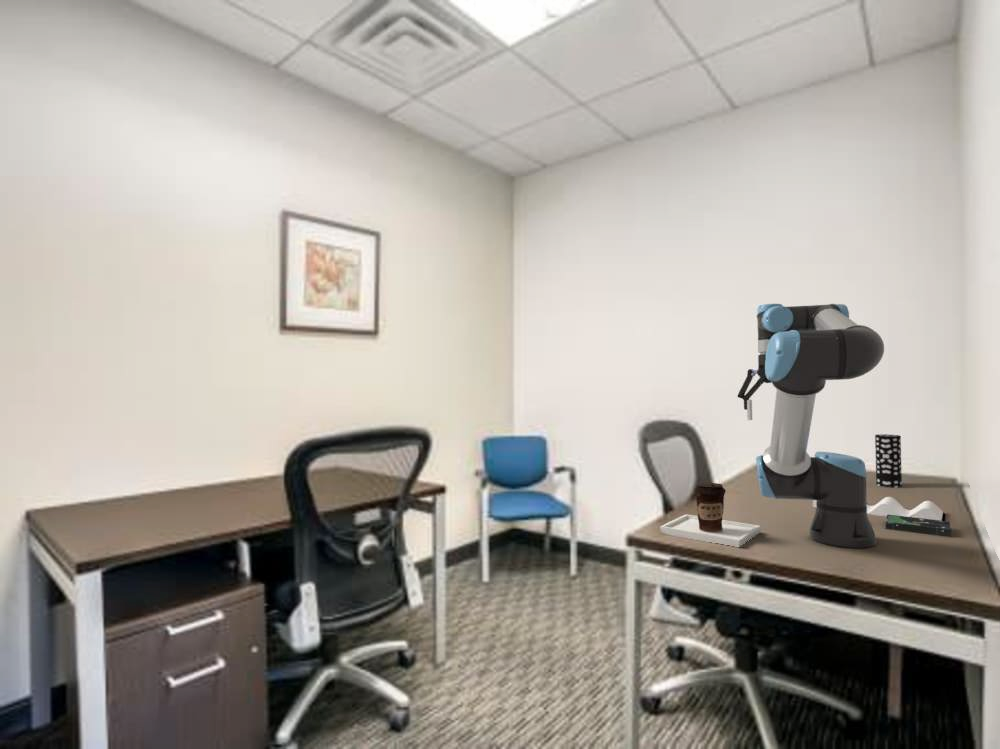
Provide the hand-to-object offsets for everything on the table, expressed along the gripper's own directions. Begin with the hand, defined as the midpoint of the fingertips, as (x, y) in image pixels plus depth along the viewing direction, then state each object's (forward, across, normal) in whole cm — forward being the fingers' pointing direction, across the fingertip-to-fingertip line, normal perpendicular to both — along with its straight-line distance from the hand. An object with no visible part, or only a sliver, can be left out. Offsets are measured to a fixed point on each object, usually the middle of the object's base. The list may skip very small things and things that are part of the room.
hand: (772, 420), depth 173 cm
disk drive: (+31, -35, -10) cm, 48 cm away
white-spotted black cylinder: (+31, -23, -79) cm, 88 cm away
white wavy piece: (+31, -24, -29) cm, 49 cm away
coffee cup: (+30, +10, +29) cm, 42 cm away
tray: (+30, +10, +29) cm, 43 cm away
